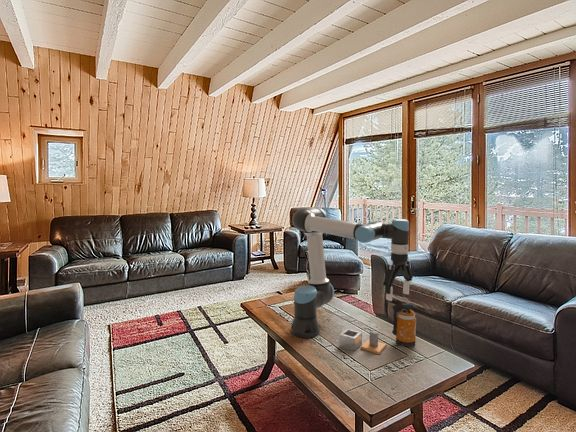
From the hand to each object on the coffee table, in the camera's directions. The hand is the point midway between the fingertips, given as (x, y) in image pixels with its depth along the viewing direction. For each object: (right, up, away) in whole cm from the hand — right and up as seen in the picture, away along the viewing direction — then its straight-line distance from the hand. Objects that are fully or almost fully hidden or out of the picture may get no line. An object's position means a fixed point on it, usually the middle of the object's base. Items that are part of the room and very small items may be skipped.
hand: (397, 296), depth 162 cm
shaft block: (-11, -25, +2) cm, 27 cm away
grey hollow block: (-21, -24, +5) cm, 33 cm away
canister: (+5, -24, +7) cm, 26 cm away
